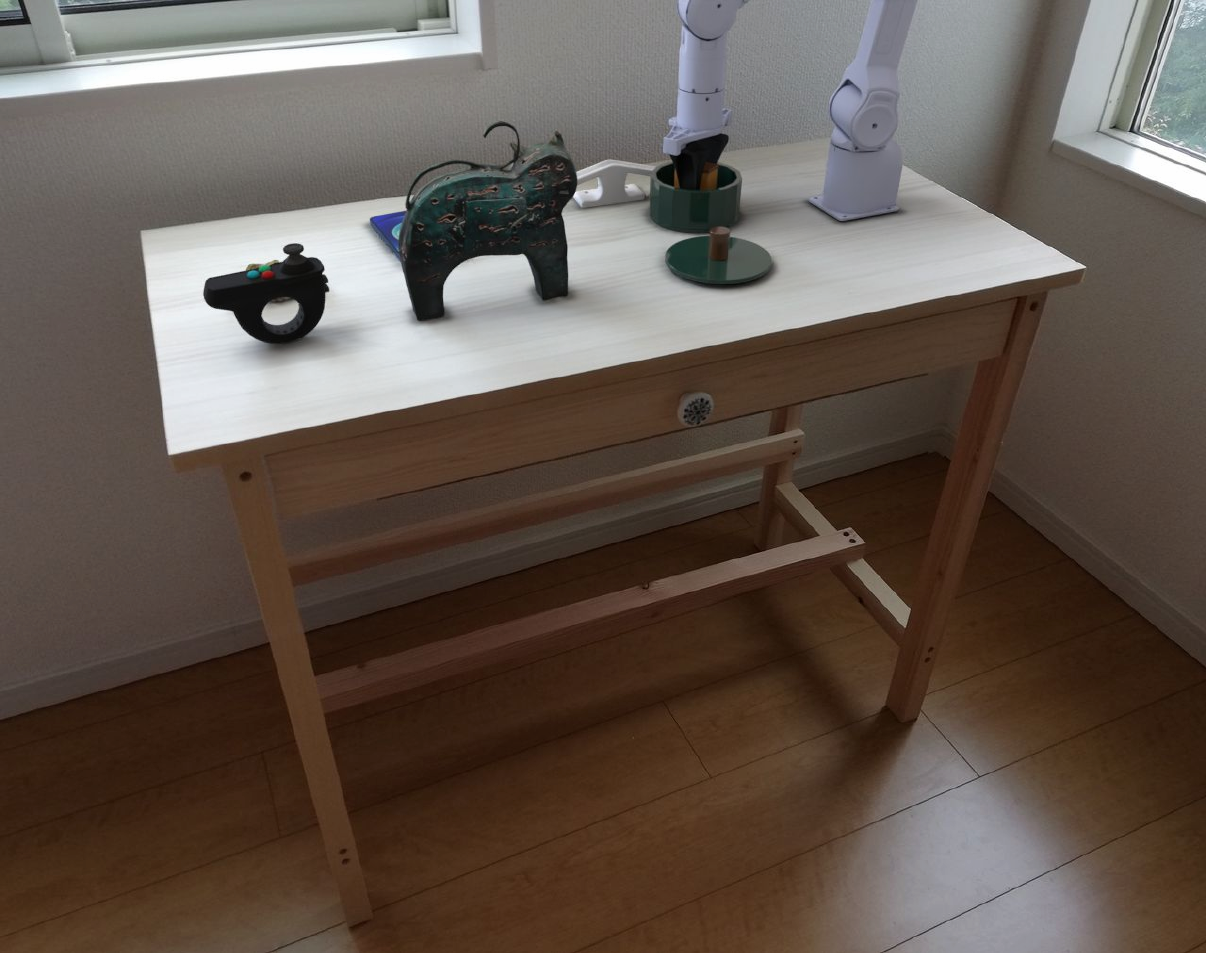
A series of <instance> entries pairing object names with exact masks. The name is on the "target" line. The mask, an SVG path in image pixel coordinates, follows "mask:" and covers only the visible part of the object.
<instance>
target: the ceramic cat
mask: <svg viewBox="0 0 1206 953" xmlns="http://www.w3.org/2000/svg"><path fill="white" fill-rule="evenodd" d="M498 127H499V128H500V127H507V128H510V129H511V130H512V131H513V132H514V133H515V136H516V139H517V142H513V141H510V142H509V145H510V148H511V149H512V151H513V155H512V159H511V160H510V161H508V162H506V163H504V164H503V163H502V164H495V165H494V164H490V163H476V162H473V161H469V160H463V159H462V160H461V159H451V160H448V161H447V160H446V161H443V162H439V163H436V164H433V165H431V166H429V167H427V168H425V169H423V170H420V171H419V172H418V174H417V175H416V176H415V177H414V178H413V179H412V182H411V183H410V185H409V186H408V187H409V188H408V189H407V190H408V191H407V192H406V193H407V194H406V199H405V203H404V204H405V211H406V212H405V216H404V219H403V222H402V224H401V227H400V232H399V239H398V250H399V255H400V259H401V262H400V264H401V269H402V273H403V277H404V281H405V285H406V288H407V292H408V297H409V300H410V302H411V307H412V311H413V313H414V315H415V317H416V320H417V321H429V320H430V321H431V320H436V319H440V318H441V319H442V318H443V317H445V313H446V311H445V304H444V287H445V286H444V285H445V284H446V281H447V280H448V278H449V277H450V275H451V274H452V272H453V271H454V270H455V269H456V268H457V267H458V266H460V265H461V264H463V263H465V262H466V261H469V260H471V259H476V258H479V257H489V256H490V257H491V256H493V257H494V256H496V257H497V256H521V255H523V256H525V258H526V260H527V262H528V264H529V267H530V271H531V273H532V277H533V282H534V288H535V289H534V290H535V292H536V294H537V295H538V296H539V298H540V299H541V301H542V302H543V301H548V300H551V299H554V298H564V297H568V295H569V263H568V262H569V261H568V252H569V251H568V250H569V249H568V248H569V247H568V241H567V234H566V225H565V221H564V217H563V211H564V208H565V207H566V206H567V204H568V203H569V202H570V201H571V200H572V199H573V196H574V194H575V192H576V191H577V188H578V185H577V173H576V172H577V168H576V165H575V162H574V161H573V158H572V157H571V154H570V152H569V151H568V150H567V148H566V145H565V141H564V139H563V136H562V134H561V133H560V132H559V131H558V130H556V131H554V132H553V134H552V136H551V138H550V140H549V141H548V142H540V143H534V144H532V145H528V146H523V145H521V140H520V134H519V133H518V130H517V129H516V127H515V126H514V125H513V124H511V123H509V122H506V121H502V120H500V121H499V120H498V121H495V122H492V123H491V124H489V125H488V126H487V127H486V129H485V130H484V131H483V134H482V136H483V138H484V139H487V136H488V135H489V133H491V132H492V131H493V130H494V129H496V128H498ZM451 165H465V166H466V167H463V168H460V169H458V170H455V171H452V172H446V173H442V174H440V175H437V176H435V177H433V178H431V179H430V180H429V181H428V182H427V183H426V184H424V185H423V186H421V187H420V188H419V189H418V190H417V191H416V192H414V195H413V196H412V197H411V195H412V192H413V191H414V190H413V189H414V188H415V187H416V185H417V184H418V183H419V181H420V180H421V179H422V178H423V177H424V176H425V175H427V174H428V173H430V172H432V171H435V170H438V169H441V168H444V167H447V166H451Z"/></svg>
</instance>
